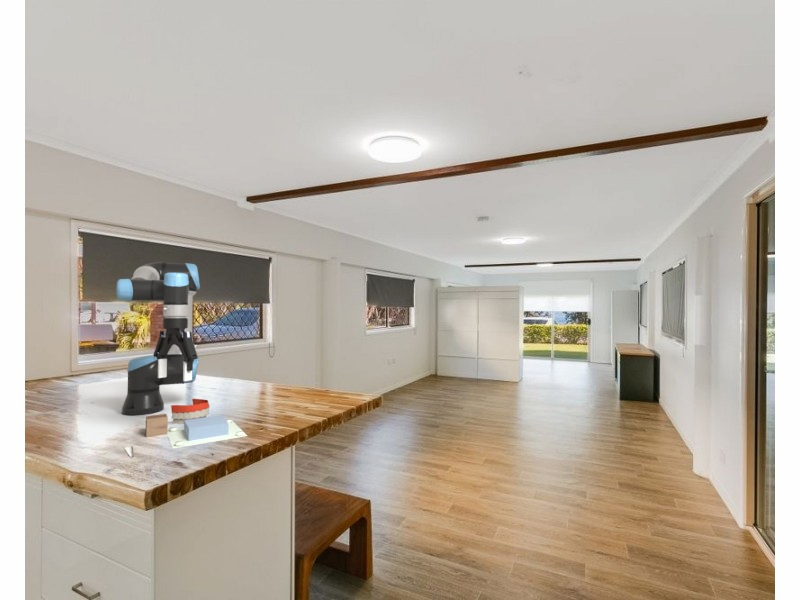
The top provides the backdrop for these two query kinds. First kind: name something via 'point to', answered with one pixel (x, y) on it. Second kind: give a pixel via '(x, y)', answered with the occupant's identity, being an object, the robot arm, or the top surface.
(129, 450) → the page
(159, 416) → the walnut block
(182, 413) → the toy
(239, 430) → the build plate
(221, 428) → the base brick
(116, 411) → the top surface
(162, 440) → the top surface
